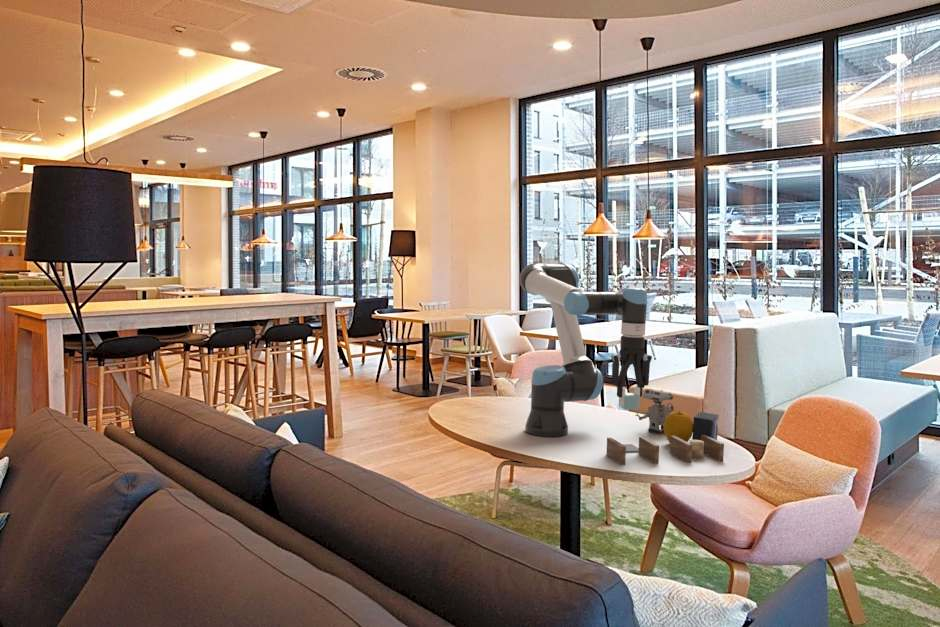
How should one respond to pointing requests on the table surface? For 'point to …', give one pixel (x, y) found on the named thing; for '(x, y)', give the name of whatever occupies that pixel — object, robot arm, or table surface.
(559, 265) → the robot arm
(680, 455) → the divider rack
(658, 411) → the figurine
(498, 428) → the table surface
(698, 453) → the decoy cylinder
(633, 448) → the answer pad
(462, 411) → the table surface
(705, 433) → the small box
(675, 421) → the apple
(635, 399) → the letter cube
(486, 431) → the table surface
